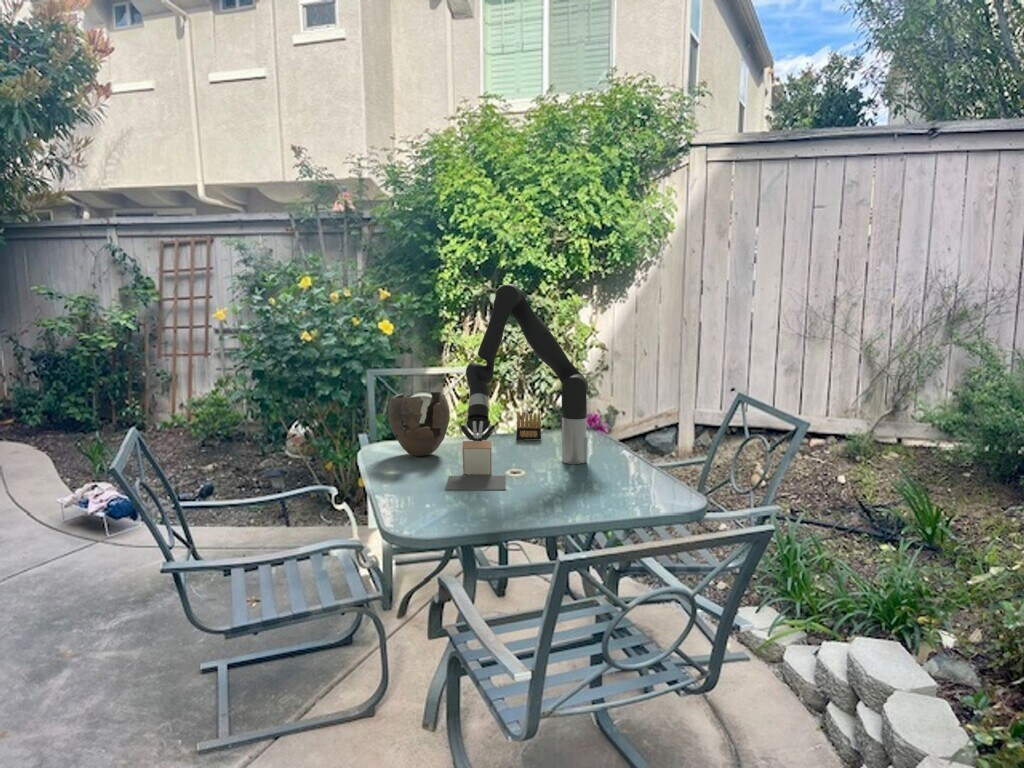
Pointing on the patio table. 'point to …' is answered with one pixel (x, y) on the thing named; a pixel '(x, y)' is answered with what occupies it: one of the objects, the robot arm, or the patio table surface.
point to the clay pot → (415, 434)
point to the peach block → (477, 457)
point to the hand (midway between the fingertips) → (477, 449)
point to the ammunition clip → (528, 427)
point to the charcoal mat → (476, 483)
